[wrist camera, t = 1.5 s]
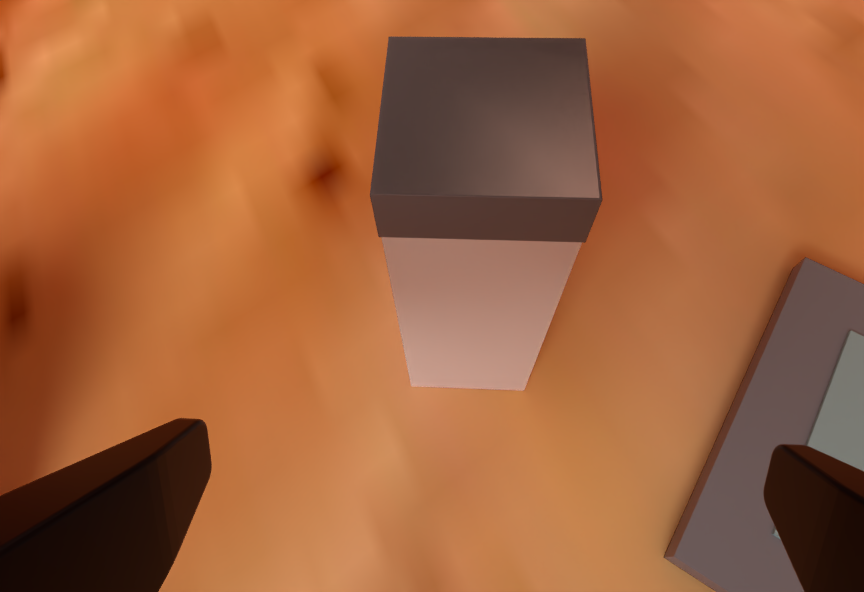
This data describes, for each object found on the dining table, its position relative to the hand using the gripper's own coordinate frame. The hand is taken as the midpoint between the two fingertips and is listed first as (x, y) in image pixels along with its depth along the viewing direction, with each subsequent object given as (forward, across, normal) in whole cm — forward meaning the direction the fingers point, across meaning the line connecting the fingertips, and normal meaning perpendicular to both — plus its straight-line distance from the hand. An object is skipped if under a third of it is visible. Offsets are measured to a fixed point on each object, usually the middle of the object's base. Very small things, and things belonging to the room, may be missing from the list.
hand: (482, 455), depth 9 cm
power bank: (+15, 0, +4) cm, 15 cm away
